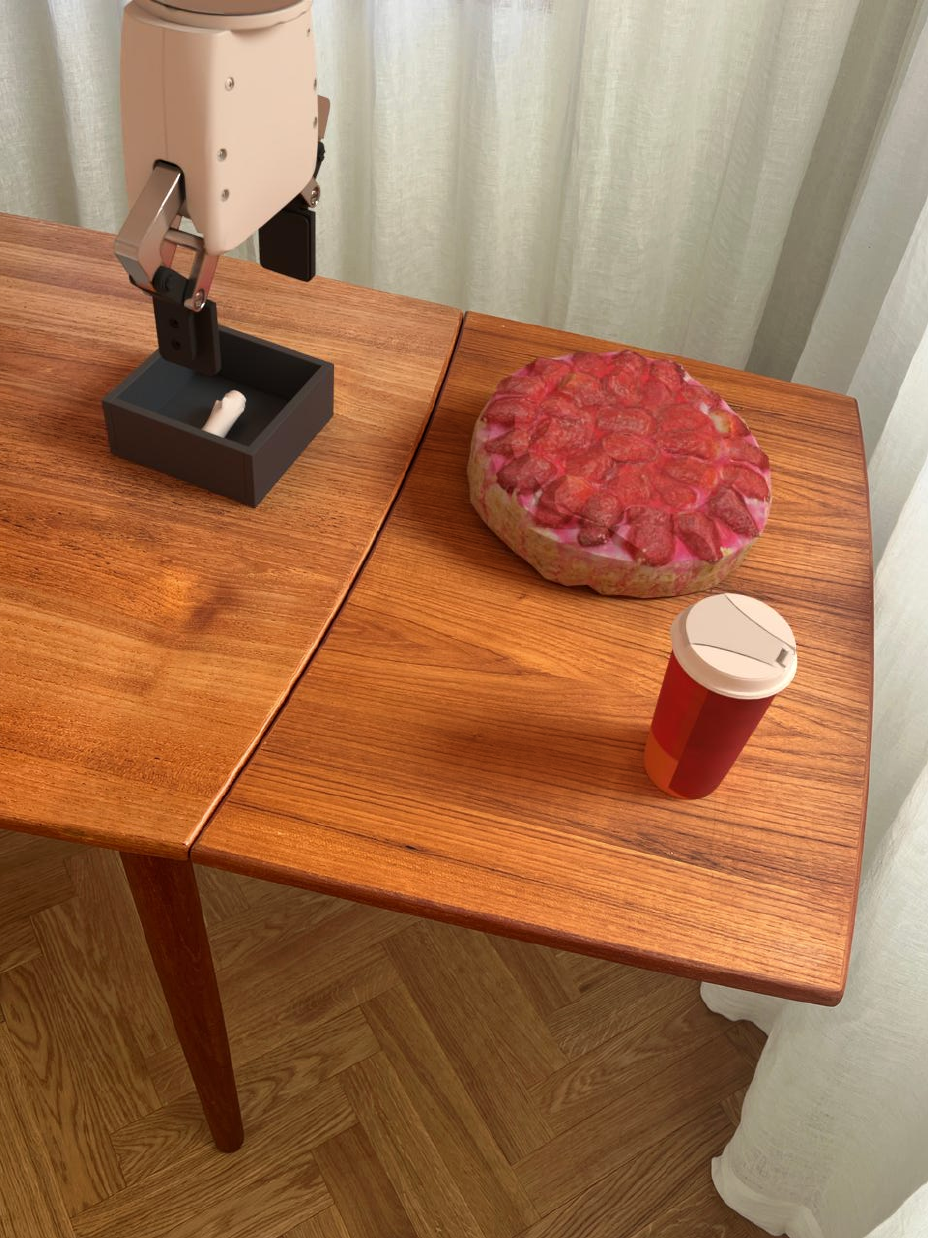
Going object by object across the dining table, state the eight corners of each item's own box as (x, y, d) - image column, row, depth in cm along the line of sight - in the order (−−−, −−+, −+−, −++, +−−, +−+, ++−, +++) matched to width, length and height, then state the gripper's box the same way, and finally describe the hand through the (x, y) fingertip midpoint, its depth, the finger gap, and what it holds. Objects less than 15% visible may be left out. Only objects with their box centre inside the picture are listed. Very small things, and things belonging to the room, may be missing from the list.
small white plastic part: (178, 435, 93) (175, 406, 91) (237, 408, 96) (235, 379, 94) (203, 458, 92) (200, 428, 89) (262, 430, 95) (261, 400, 92)
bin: (110, 453, 92) (100, 399, 88) (199, 367, 100) (194, 314, 96) (255, 508, 89) (252, 455, 85) (333, 415, 98) (334, 363, 94)
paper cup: (754, 755, 78) (822, 624, 67) (710, 833, 73) (776, 707, 63) (655, 701, 80) (705, 567, 70) (606, 774, 76) (652, 642, 65)
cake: (506, 365, 103) (520, 293, 97) (768, 442, 101) (800, 374, 95) (426, 555, 88) (436, 485, 82) (732, 649, 86) (767, 585, 80)
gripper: (248, -118, 52) (262, 223, 64) (4, -2, 41) (80, 382, 53) (394, -80, 50) (379, 261, 63) (183, 51, 39) (216, 432, 52)
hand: (241, 316), depth 58 cm, fingers open, 9 cm apart
